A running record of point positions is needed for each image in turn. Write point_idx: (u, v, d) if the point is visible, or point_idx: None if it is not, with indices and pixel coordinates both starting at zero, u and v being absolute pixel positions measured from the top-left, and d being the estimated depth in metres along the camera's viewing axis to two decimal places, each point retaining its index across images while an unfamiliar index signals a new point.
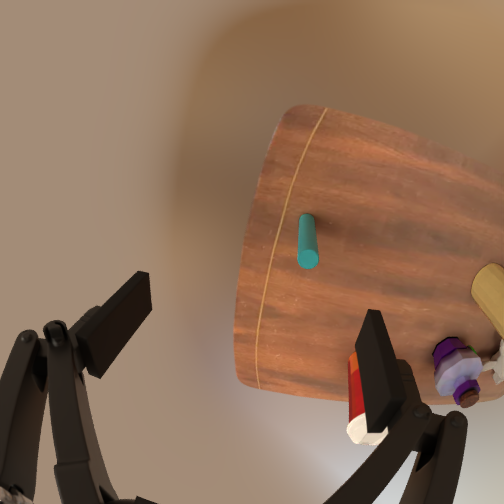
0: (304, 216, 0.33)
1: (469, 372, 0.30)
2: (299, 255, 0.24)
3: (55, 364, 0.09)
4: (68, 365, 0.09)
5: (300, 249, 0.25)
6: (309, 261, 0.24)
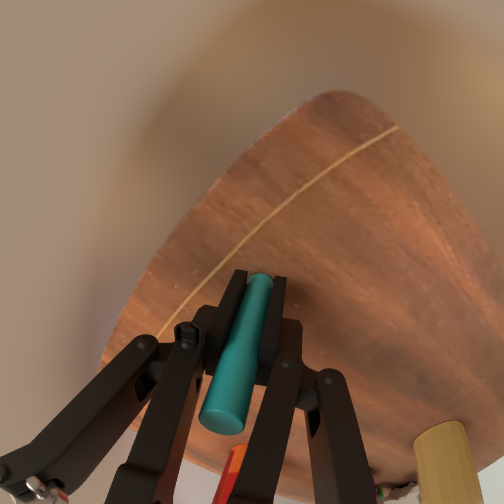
0: (260, 281, 0.18)
1: None
2: (206, 412, 0.09)
3: (173, 366, 0.11)
4: (188, 372, 0.11)
5: (214, 396, 0.10)
6: (221, 426, 0.10)
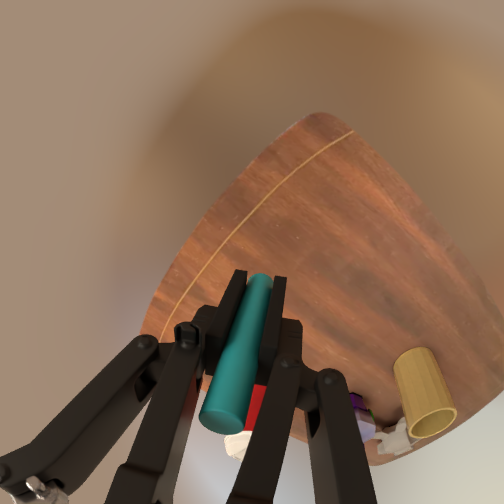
0: (260, 281, 0.18)
1: None
2: (206, 411, 0.09)
3: (173, 366, 0.11)
4: (188, 372, 0.11)
5: (214, 396, 0.10)
6: (221, 426, 0.10)
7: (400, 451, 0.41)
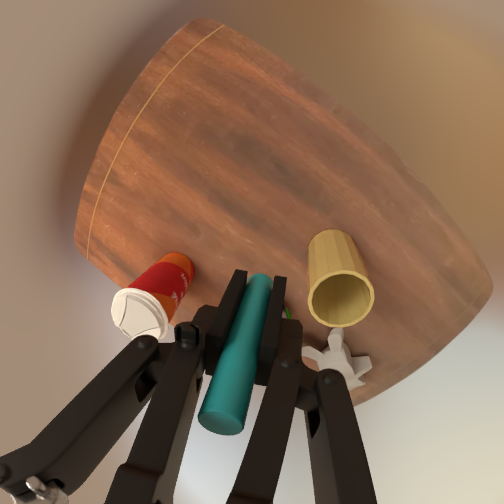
0: (259, 281, 0.18)
1: None
2: (205, 412, 0.09)
3: (174, 366, 0.11)
4: (188, 372, 0.11)
5: (214, 396, 0.10)
6: (221, 427, 0.10)
7: None
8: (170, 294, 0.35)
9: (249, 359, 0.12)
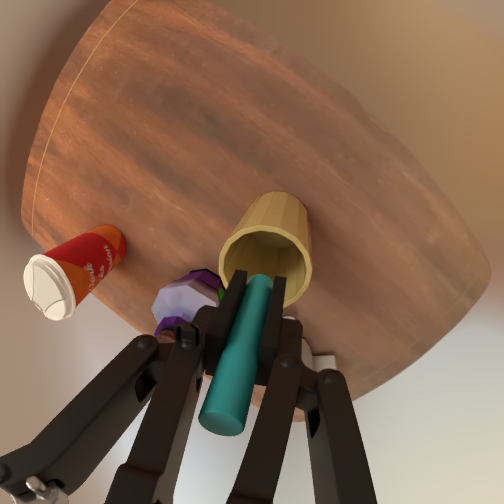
0: (260, 282, 0.18)
1: (194, 314, 0.29)
2: (205, 413, 0.09)
3: (174, 366, 0.11)
4: (188, 372, 0.11)
5: (214, 397, 0.10)
6: (221, 427, 0.10)
7: None
8: (83, 265, 0.28)
9: (249, 360, 0.12)
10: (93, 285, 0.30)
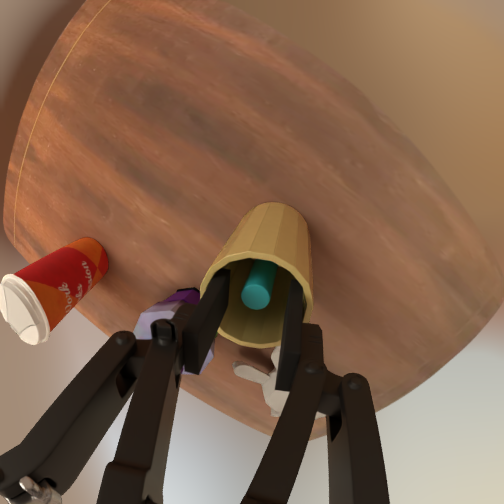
0: None
1: None
2: (247, 287, 0.18)
3: (152, 363, 0.11)
4: (166, 368, 0.11)
5: (251, 279, 0.18)
6: (255, 300, 0.18)
7: None
8: (57, 285, 0.23)
9: (271, 266, 0.20)
10: (70, 306, 0.26)
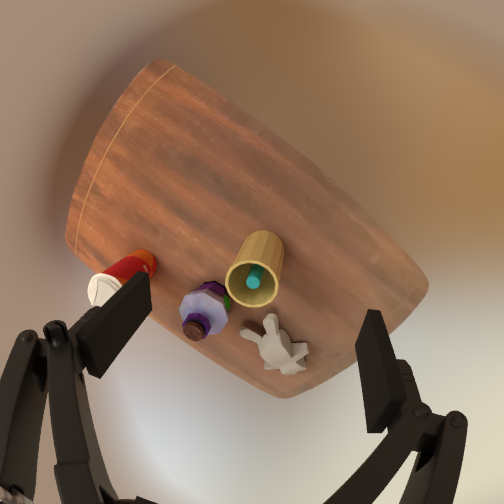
0: None
1: (208, 311, 0.45)
2: (248, 278, 0.38)
3: (55, 365, 0.09)
4: (68, 365, 0.09)
5: (251, 274, 0.38)
6: (253, 284, 0.38)
7: (286, 367, 0.52)
8: None
9: (260, 268, 0.40)
10: None
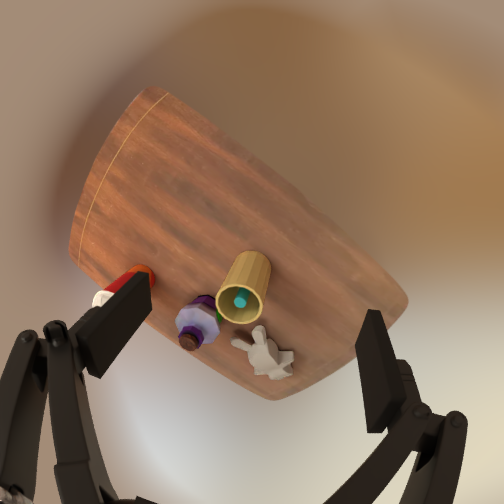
0: None
1: (201, 324, 0.50)
2: (236, 298, 0.42)
3: (55, 364, 0.09)
4: (68, 365, 0.09)
5: (238, 295, 0.43)
6: (240, 304, 0.42)
7: (273, 373, 0.57)
8: None
9: None
10: None
